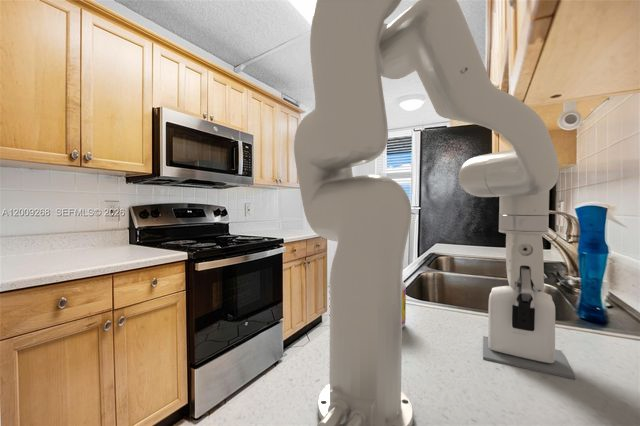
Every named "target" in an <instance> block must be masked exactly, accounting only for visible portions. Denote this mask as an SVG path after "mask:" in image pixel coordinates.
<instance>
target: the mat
mask: <svg viewBox="0 0 640 426" xmlns="http://www.w3.org/2000/svg"><path fill="white" fill-rule="evenodd" d="M482 337H483V339H482V340H483V341H482V343H483V344H482V358H483V360H487V361H489V362H495V363H500V364H503V365H509V366H513V367H517V368H522V369H527V370H531V371H536V372H540V373H545V374H550V375H553V376H559V377H563V378H568V379H571V380H572V379H573V380H576V375H575V374H574V371H573V369H572V368H571V365H570V364H569V362H568V361H567V358H566V357H565V355H564V353H563V351H562V350H560V349H556V348H555V361H554V363H546V362H541V361H536V360H532V359H527V358H523V357H519V356H514V355H510V354H506V353H502V352H498V351H494V350H491V349H490V348H489V347H488V336H484V335H483V336H482Z"/></svg>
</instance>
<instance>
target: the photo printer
mask: <svg viewBox="0 0 640 426" xmlns="http://www.w3.org/2000/svg"><path fill="white" fill-rule="evenodd" d="M517 288H521V287H518V286H517ZM533 291H534V308H535V325H534V331H527V330H521V329H515V328H513V327H512V305H514V289H512V288H511V287H510V285H502V286H494V287H492V288H491V292H490V293H489V296H488V321H487V322H488V323H487V324H488V330H487V331H488V332H487V333H488V334H487V335H488V336H487V337H488V347H489V348H490V349H491V350H494V351H498V352H502V353H506V354H510V355H514V356H519V357H523V358H527V359H532V360H536V361H541V362H546V363H554V361H555V349H556V305H555V302H554V301H553V297H552V295H551V294H549V293H547V292H544V291H543V292H538V290H536V289H535V288H533ZM519 293H520V294H521V292H518V295H519Z"/></svg>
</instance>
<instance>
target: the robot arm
mask: <svg viewBox="0 0 640 426" xmlns="http://www.w3.org/2000/svg"><path fill="white" fill-rule="evenodd" d="M402 1H403V0H316V3H315V7H314V9H313V13H312V20H311V21H312V22H311V27H310V35H309V36H310V38H309V40H310V41H309V50H310V51H309V52H310V64H311V65H310V66H311V72H312V83H313V90H314V101H315V105H314V106H315V107H314V109H313V110H312V111H310V112H309V113H308V114H307V115H305V116H304V117H303V119H301V121H300V122H299V124H298V125H297V129H296V130H295V134H294V141H293V153H294V154H293V155H294V161H295V166H296V167H295V168H296V173H297V179H298V186H299V190H300V196H301V201H302V207H303V212H304V215H305V218H306V221H307V223H308V225H309V227H310V228H311V230H313V232H314V233H315V234H316V235H318V236H319V237H321V238H323V239H326V240H329V241H332V242H336V243H337V246H336V250H335V252H334V257H333V258H332V263H331V268H330V274H329V275H330V276H329V375H328V376H329V383H328V384H327V385H325V387H324V388H323V389H322V390H321V392H320V394H319V395H318V400H317V413H318V417H319V420H320V421H319V422H318V424H317V426H413V424H414V407H413V406H414V405H412V402H411V399H409V397H408V396H407V394H405V393H404V392H403V391H402V360H403V356H402V353H403V351H402V349H403V348H402V347H403V346H402V343H403V328H402V281H403V271H404V259H405V251H406V247H407V242H408V239H409V233H410V228H411V223H412V205H411V201H410V198H409V195H408V193H407V192H406V190H405V189H404V188H403V186H402V185H400V183H398V182H397V181H395V180H393V179H392V178H390V177H387V176H384V175H379V174H378V175H377V174H363V175H357V176H356V175H355V176H354V175H353V169H352V168H353V167H357V166H361V165H365V164H368V163H371V162H373V161H374V160H376V159H377V158H378V157H380V156H381V155H382V154H383V153H384V152H385V150H386V147H387V145H388V141H389V129H388V128H389V127H388V120H387V119H388V118H387V110H386V104H385V96H384V90H383V89H384V88H383V82H382V81H383V80H382V77H383V78H387V79H390V80H399V79H403V78H405V77H407V76H408V75H410V74H411V75H412V74H413V73H414V72H416V73H417V75H418V78H419V80H420V82H421V83H422V86H423V87H424V90H425V92H426V94H427V95H428V98H429V100H430V103H431V104H432V107H433V109H434V111H435V112H436V114H437V115H438V116H439V117H441V118H444V119H448V120H452V121H457V122H464V123H468V124H473V125H478V126H480V127H484V128H487V129H489V130H491V131H493V132H495V133H497V134H498V135H500V136H501V137H503V138H504V140H506V141H507V143H509V145H510V146H511V147H512V149H509V150H501V151H498V152H492V153H487V154H481V155H477V156H474V157H472V158H469V159H468V160H466V161H465V162H464V163H463V164H462V166H461V167H460V169H459V173H458V183H459V184H460V186H461V188H462V189H463V190H464V191H465V192H466V193H467V194H469V195H471V196H474V197H478V198H493V197H494V198H495V197H496V198H498V197H499V203H498V205H499V210H498V211H499V212H498V232H499V233H502V234H505V235H506V236H505V266H506V275H507V276H506V277H507V281H508V286H510V287H511V288H512V289H514V305H512V327H513V328H515V329H521V330H527V331H534V325H535V308H534V291H533V289H535V290H538V292H544V291H545V277H544V276H545V275H544V273H545V269H544V267H545V266H544V245H543V244H544V243H543V236H544V235H549V225H550V224H549V222H550V221H549V220H550V219H549V215H550V210H549V209H550V190H551V189H553V188H554V186H555V185H556V184H557V182H558V178H559V175H560V162H559V159H558V154H557V152H556V149H555V146H554V142H553V140H552V138H551V135H550V132H549V129H548V127H547V126H546V123H545V122H544V120H543V119H542V117H541V115H539V114H538V113H537V112H536V111H535V110H533V108H531V107H530V106H529V105H527V104H526V103H525V102H523V101H522V100H520V99H518V97H516V96H515V95H514V96H513V95H512V94H511V93H508V92H506V91H503V90H501V89H500V88H498V87H496V86H495V85H494V84H493V82H492V80H491V79H490V76H489V73H488V71H487V69H486V66H485V65H484V64H485V63H484V62H483V59H482V57H481V54H480V52H479V49H478V47H477V45H476V41H475V39H474V37H473V34H472V32H471V29H470V27H469V25H468V22H467V20H466V18H465V15H464V12H463V10H462V7H461V6H460V4H459V2H458V0H417V1H416V2H414V4H412V5H411V6H409V7H407V9H406V10H404V11H403V12H402V13H401V14H399V16H398V17H396V18H395V19H394V20H393V21H392V22H391V23H389V24H388V23H385V21H386V20H387V19H388V18H389V17H390V16H391V15H392V14H393V13H394V12H395V11H396V9H397V8H398V7H399V6H400V4H401V2H402ZM517 286H518V287H521V288H517ZM518 292H521V294H520V293H519V295H518Z"/></svg>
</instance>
